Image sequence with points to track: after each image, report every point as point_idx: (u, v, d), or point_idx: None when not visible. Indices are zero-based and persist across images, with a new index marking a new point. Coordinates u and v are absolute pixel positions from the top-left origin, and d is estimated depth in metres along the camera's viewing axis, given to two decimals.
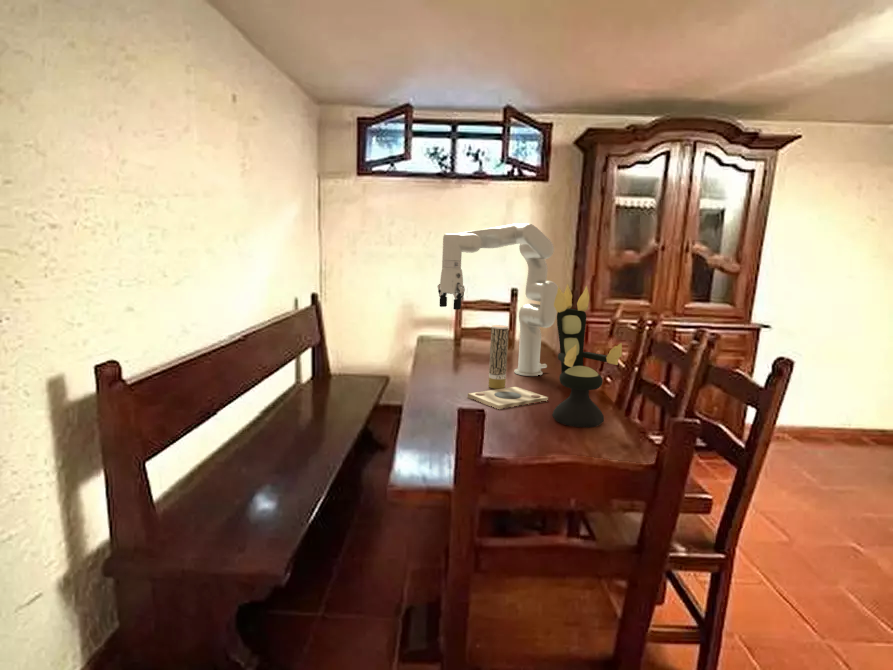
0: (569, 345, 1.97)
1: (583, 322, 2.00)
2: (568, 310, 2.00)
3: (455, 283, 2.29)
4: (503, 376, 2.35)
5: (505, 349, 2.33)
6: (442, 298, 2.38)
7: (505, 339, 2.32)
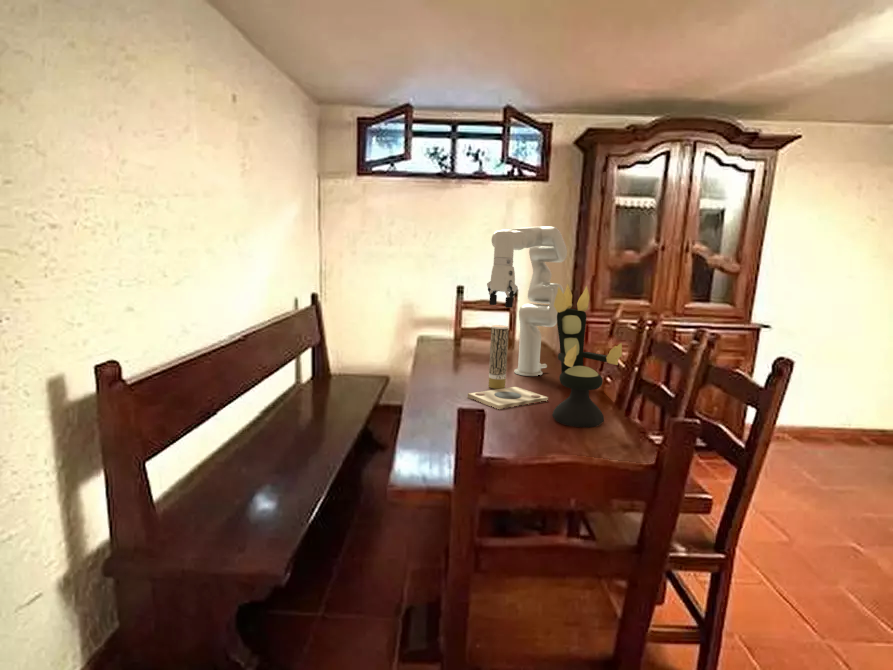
0: (569, 345, 1.97)
1: (583, 322, 2.00)
2: (568, 310, 2.00)
3: (507, 281, 2.26)
4: (503, 376, 2.35)
5: (505, 349, 2.33)
6: (492, 296, 2.35)
7: (505, 339, 2.32)
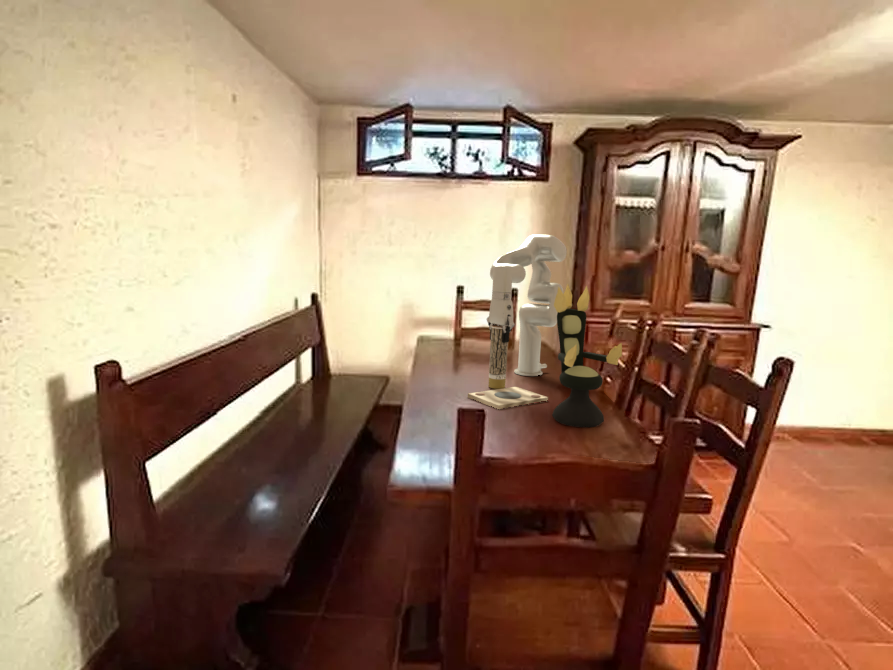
0: (569, 345, 1.97)
1: (583, 322, 2.00)
2: (568, 310, 2.00)
3: (506, 315, 2.28)
4: (503, 376, 2.35)
5: (505, 349, 2.33)
6: None
7: None
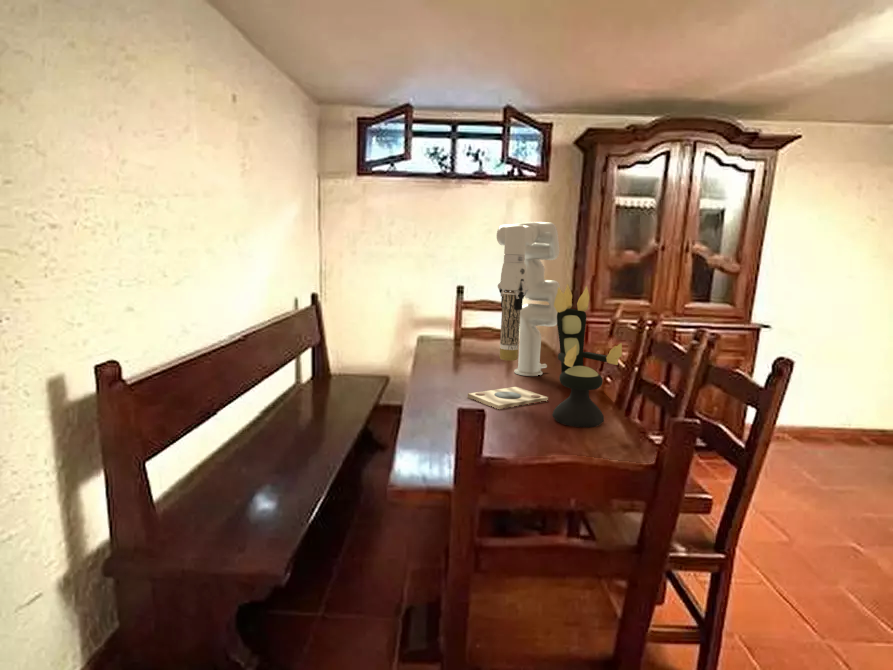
0: (569, 345, 1.97)
1: (583, 322, 2.00)
2: (568, 310, 2.00)
3: (519, 279, 2.11)
4: (515, 346, 2.17)
5: (518, 317, 2.15)
6: None
7: None
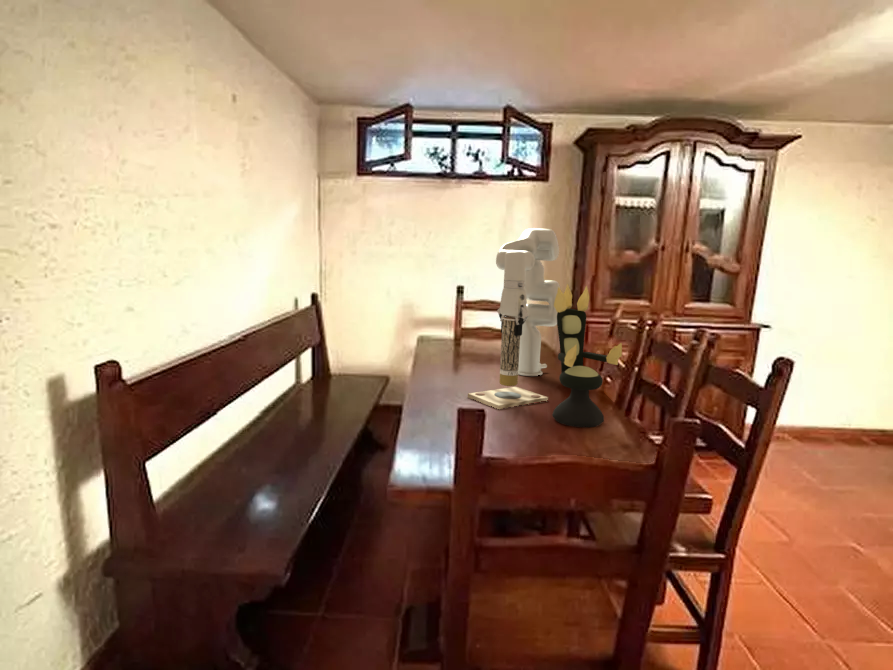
0: (569, 345, 1.97)
1: (583, 322, 2.00)
2: (568, 310, 2.00)
3: (519, 305, 2.10)
4: (515, 372, 2.16)
5: (518, 343, 2.15)
6: None
7: None
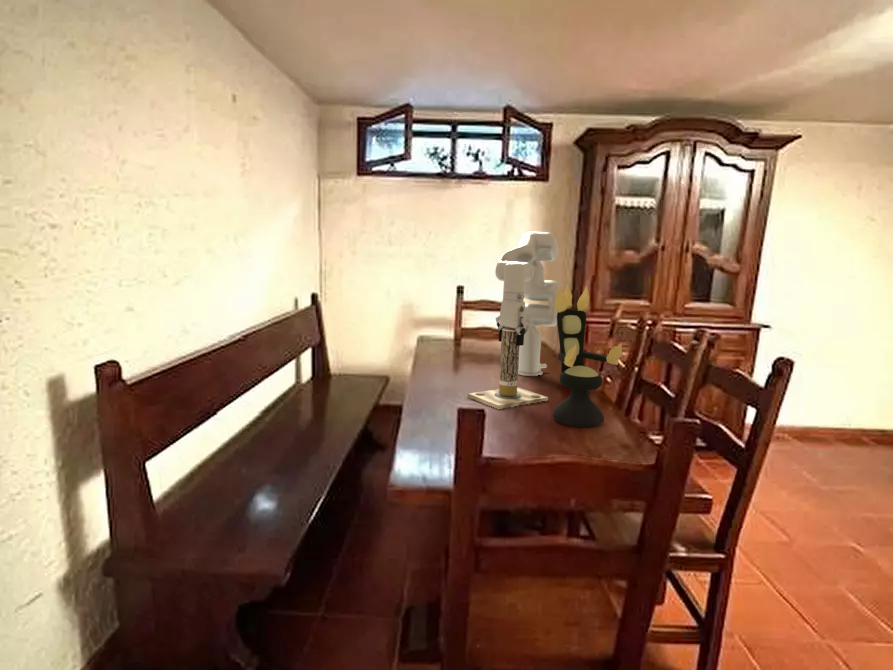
0: (569, 345, 1.97)
1: (583, 322, 2.00)
2: (568, 310, 2.00)
3: (518, 317, 2.11)
4: (515, 382, 2.17)
5: (517, 353, 2.15)
6: (501, 332, 2.20)
7: None
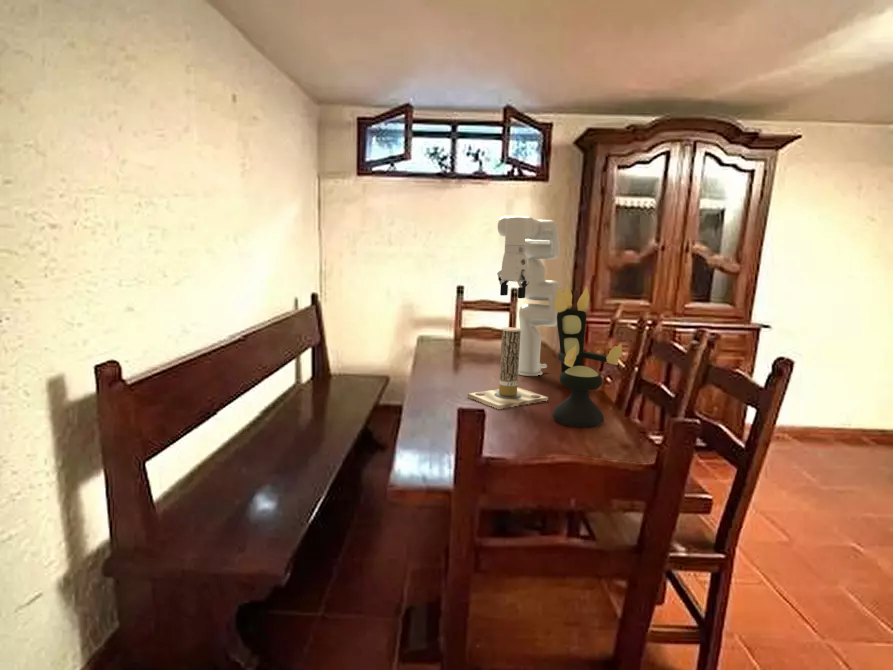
0: (569, 345, 1.97)
1: (583, 322, 2.00)
2: (568, 310, 2.00)
3: (520, 270, 2.13)
4: (515, 382, 2.17)
5: (517, 353, 2.15)
6: (503, 286, 2.22)
7: (517, 343, 2.15)
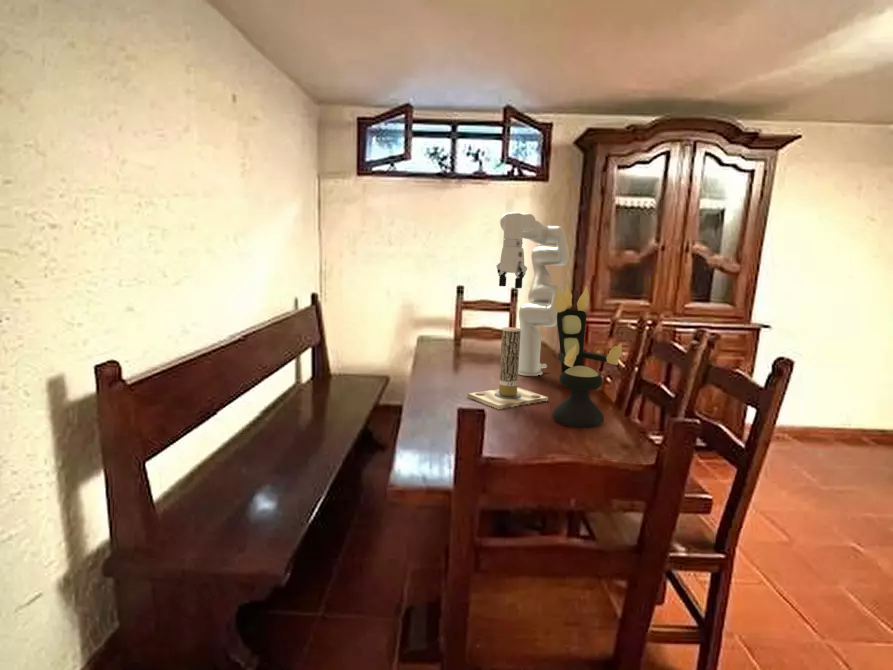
0: (569, 345, 1.97)
1: (583, 322, 2.00)
2: (568, 310, 2.00)
3: (517, 262, 2.30)
4: (515, 382, 2.17)
5: (517, 353, 2.15)
6: (502, 277, 2.39)
7: (517, 343, 2.15)
